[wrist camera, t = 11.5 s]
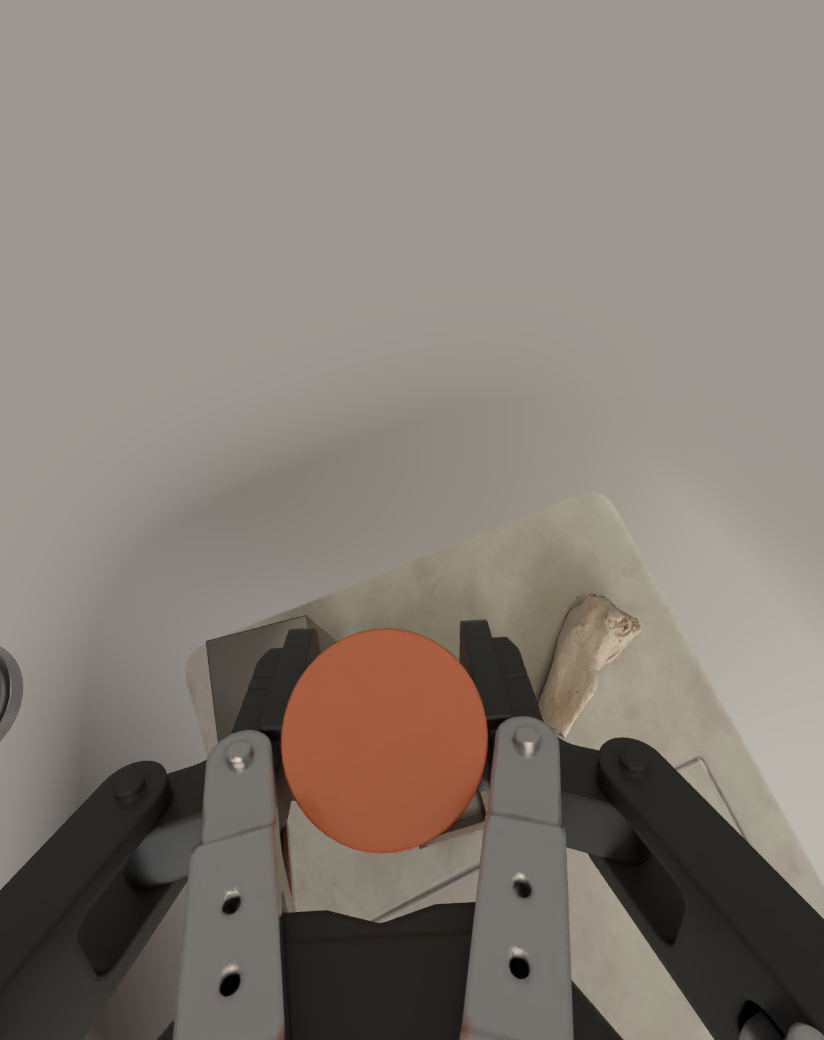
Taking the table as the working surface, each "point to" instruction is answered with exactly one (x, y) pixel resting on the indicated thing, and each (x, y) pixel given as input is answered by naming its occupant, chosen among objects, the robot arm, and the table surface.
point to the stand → (245, 665)
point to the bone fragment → (583, 658)
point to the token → (384, 740)
